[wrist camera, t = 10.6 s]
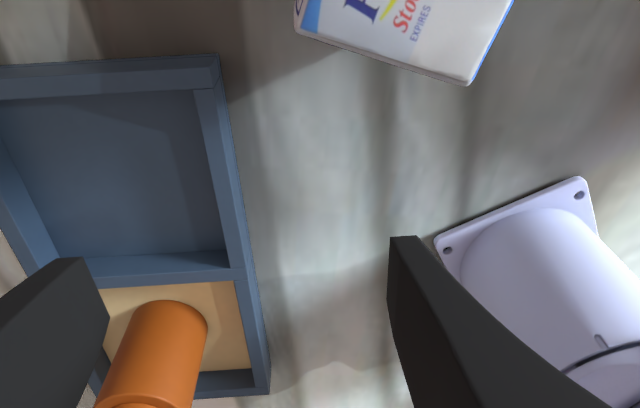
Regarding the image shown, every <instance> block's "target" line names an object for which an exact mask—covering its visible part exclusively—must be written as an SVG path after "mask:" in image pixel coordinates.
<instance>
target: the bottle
mask: <svg viewBox="0 0 640 408" xmlns="http://www.w3.org/2000/svg"><path fill="white" fill-rule="evenodd" d="M207 333H208V325H207V322H206V320H205V318H204V317H203V315H202V314H201V313H200V312H199V311H198V310H196V309H195V308H193V307H191V306H190V305H187V304H185V303H182V302H179V301H174V300H156V301H151V302H148V303H145V304H143V305H142V306H140V307H139V308H137V309H136V310H135V312H134V313H133V315H132V317H131V319H130V322H129V324H128V326H127V329H126V331H125V333H124V336H123V338H122V340H121V343H120V345H119V347H118V350H117V352H116V355H115V357H114V359H113V362H112V364H111V366H110V369H109V371H108V373H107V376H106V378H105V380H104V383H103V385H102V387H101V390H100V392H99V395H98V397H97V399H96V402H95V404H94V406H93V408H191V406H192V402H193V397H194V393H195V388H196V384H197V379H198V374H199V370H200V365H201V361H202V356H203V352H204V347H205V343H206V338H207Z"/></svg>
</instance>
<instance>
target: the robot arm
mask: <svg viewBox="0 0 640 408" xmlns="http://www.w3.org/2000/svg"><path fill="white" fill-rule="evenodd" d="M579 191H580V192H579ZM577 192H579V194H577V195H575V194H576V193H577ZM574 195H575V196H574ZM433 242H434V245H435V248H436V250H437V252H438V254H439V256H440V258H441V260H442V262H443V264H444V266H445V267H446V268H445V267H444V266H443V265H442V263H441V262H440V261H439V260H438V259H437V258H436V257H435V256H434V255H433V253H432V252H431V251H430V250H429V249H428V248H427V247H426V245H425V244H424V243H423V242H422V241H421V240H420V239H419V238H418V237H417V236H416V235H415V236H399V237H390V248H389V265H388V282H387V298H386V300H387V305H388V311H389V317H390V323H391V328H392V333H393V338H394V342H395V345H396V349H397V352H398V355H399V359H400V362H401V365H402V369H403V372H404V375H405V379H406V382H407V385H408V389H409V392H410V395H411V398H412V402H413V405H414V408H640V280H639V278H638V277H637V276H636V275H635V274H634V273H633V272H632V271H631V270H630V269H629V268H628V267H627V266H626V265H625V264H624V263H623V262H622V261H621V260H620V259H619V258H618V257H617V256H616V255H615V254H614V253H613V252H612V251H611V250H610V249H609V248H608V247H607V246H606V245H605V244H604V243H603V242H602V241H601V240H600V239H599V235H598V231H597V226H596V221H595V217H594V212H593V208H592V203H591V198H590V194H589V189H588V185H587V182H586V180H584V179H583V178H582V177H580V176H574V177H571V178H569V179H566V180H564V181H562V182H559V183H557V184H555V185H553V186H550V187H548V188H546V189H543V190H541V191H539V192H536V193H534V194H532V195H529V196H527V197H525V198H522V199H520V200H518V201H515V202H513V203H511V204H508V205H506V206H504V207H502V208H499V209H497V210H495V211H492V212H490V213H488V214H485V215H483V216H481V217H478V218H476V219H474V220H471V221H469V222H467V223H464V224H462V225H460V226H457V227H455V228H453V229H450V230H448V231H446V232H444V233H441V234H439V235H437V236H436V237H435V239H434V241H433ZM446 247H450V248H449V249H447V250H444V249H445V248H446ZM109 321H110V315H109V313H108V311H107V309H106V306H105V304H104V302H103V300H102V298H101V295H100V293H99V291H98V289H97V287H96V284H95V282H94V280H93V278H92V276H91V273H90V271H89V269H88V267H87V265H86V262H85V260H84V258H83V256H82V257H66V258H56V259H54V260H53V261H51V262H50V263H48V264H47V265H45V266H44V267H42V268H41V269H39V270H38V271H37V272H35V273H34V274H32V275H31V276H30V277H28V278H27V279H25V280H24V281H23V282H21V283H20V284H19V285H17V286H16V287H15V288H13V289H12V290H11V291H9V292H8V293H6V294H5V295H4V296H2V297H1V298H0V408H76V407H77V405H78V403H79V401H80V398H81V396H82V394H83V392H84V390H85V387H86V385H87V383H88V381H89V378H90V376H91V374H92V372H93V369H94V367H95V365H96V362H97V360H98V358H99V355H100V352H101V348H102V345H103V342H104V339H105V335H106V332H107V328H108V324H109Z"/></svg>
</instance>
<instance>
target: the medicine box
mask: <svg viewBox="0 0 640 408" xmlns="http://www.w3.org/2000/svg"><path fill="white" fill-rule="evenodd" d="M513 2H514V0H295V3H294V10H293V20H294V29H295V32H296V33H298V34H301V35H304V36H307V37H310V38H313V39H315V40H318V41H321V42H324V43H327V44H330V45H333V46H336V47H339V48H342V49H345V50H349V51H352V52H355V53H358V54H361V55H364V56H367V57H370V58H373V59H376V60H379V61H382V62H385V63H388V64H391V65H394V66H397V67H400V68H403V69H407V70H410V71H413V72H416V73H419V74H423V75H426V76H429V77H432V78H435V79H438V80H441V81H444V82H448V83H451V84H454V85H458V86H461V87H466V86H469V85H470V83H471V82H472V81H473V80H474V78H475V76H476V74H477V72H478V70H479V68H480V66H481V64H482V62H483V60H484V58H485V56H486V54H487V52H488V50H489V48H490V46H491V45H492V43H493V41H494V39H495V37H496V35H497V33H498V31H499V29H500V27H501V25H502V23H503V21H504V20H505V18H506V16H507V14H508V12H509V10H510V8H511V6H512V4H513Z"/></svg>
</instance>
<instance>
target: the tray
mask: <svg viewBox="0 0 640 408" xmlns="http://www.w3.org/2000/svg"><path fill="white" fill-rule="evenodd" d="M0 229H1V230H2V232H3V234H4V236H5V237H6V239H7V241H8V243H9V244H10V246H11V248H12V250H13V252H14V253H15V255H16V257H17V259H18V260H19V262H20V264H21V266H22V267H23V269H24V271H25V273H26V275H27V276H28V277H30V276H31V275H32V274H34V273H35V272H37V271H38V270H39V269H41V268H42V267H44V266H45V265H47V264H48V263H50V262H51V261H53V260H54V259H56V258H66V257H82V256H83V258H84V260H85V262H86V265H87V267H88V269H89V271H90V273H91V276H92V278H93V280H94V282H95V284H96V287H97V289H98V291H99V293H100V295H101V298H102V300H103V302H104V304H105V306H106V309H107V311H108V313H109V315H110V321H109V324H108V328H107V332H106V335H105V339H104V342H103V345H102V348H101V352H100V355H99V358H98V360H97V362H96V365H95V367H94V369H93V372H92V374H91V376H90V378H89V381H88V384H89V386H90V387H91V389H92V391H93V393H94V394H95V396H96V398H97V397H98V395H99V392H100V390H101V387H102V385H103V383H104V380H105V378H106V376H107V373H108V371H109V369H110V366H111V364H112V362H113V359H114V357H115V355H116V352H117V350H118V347H119V345H120V343H121V340H122V338H123V336H124V333H125V331H126V329H127V326H128V324H129V322H130V319H131V317H132V315H133V313H134V312H135V310H136V309H137V308H139V307H140V306H142V305H143V304H145V303H148V302H151V301H156V300H174V301H179V302H182V303H185V304H187V305H190V306H191V307H193V308H195V309H196V310H198V311H199V312H200V313H201V314H202V315H203V317H204V318H205V320H206V322H207V325H208V333H207V338H206V343H205V347H204V352H203V356H202V361H201V365H200V370H199V374H198V379H197V384H196V388H195V393H194V397H193V400H195V399H209V398H224V397H238V396H253V395H267V394H269V393H270V378H271V362H270V356H269V350H268V344H267V339H266V333H265V327H264V321H263V315H262V309H261V303H260V297H259V291H258V285H257V279H256V273H255V267H254V262H253V256H252V250H251V244H250V238H249V232H248V226H247V220H246V214H245V208H244V202H243V196H242V191H241V185H240V179H239V173H238V167H237V161H236V155H235V149H234V143H233V137H232V131H231V125H230V120H229V114H228V108H227V102H226V96H225V90H224V84H223V78H222V72H221V66H220V60H219V55H218V54H217V53H213V54H195V55H178V56H160V57H142V58H124V59H106V60H88V61H70V62H52V63H35V64H17V65H0Z"/></svg>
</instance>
